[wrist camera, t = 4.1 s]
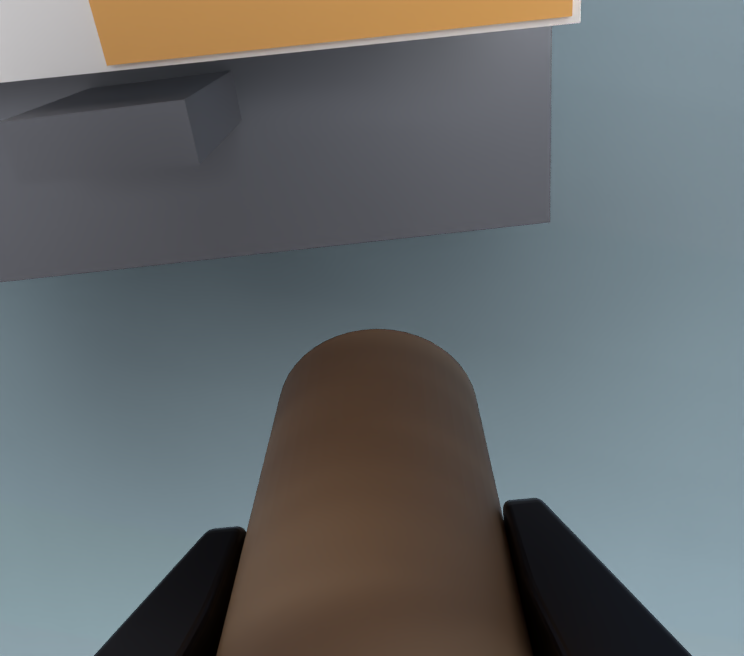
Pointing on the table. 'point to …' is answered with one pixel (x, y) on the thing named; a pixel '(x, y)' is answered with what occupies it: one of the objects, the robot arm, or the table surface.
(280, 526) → the walnut cylinder
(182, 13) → the white and orange panel
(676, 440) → the table surface
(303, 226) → the grey square block
